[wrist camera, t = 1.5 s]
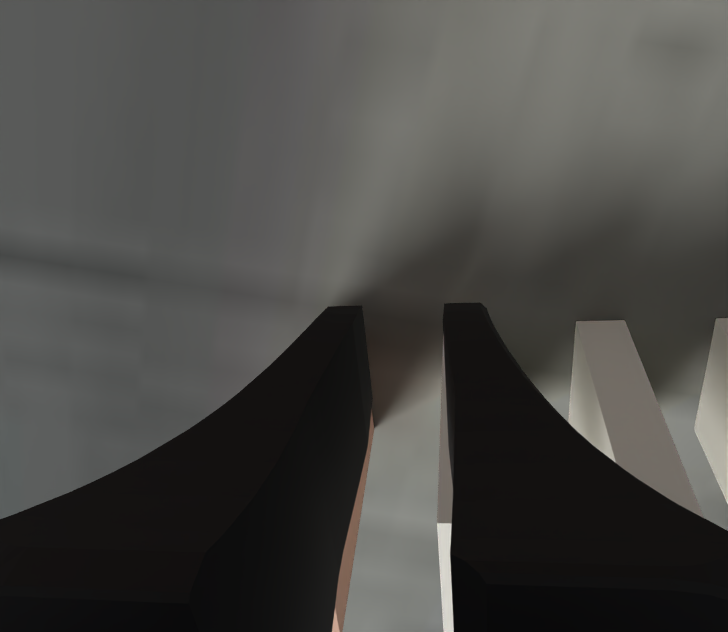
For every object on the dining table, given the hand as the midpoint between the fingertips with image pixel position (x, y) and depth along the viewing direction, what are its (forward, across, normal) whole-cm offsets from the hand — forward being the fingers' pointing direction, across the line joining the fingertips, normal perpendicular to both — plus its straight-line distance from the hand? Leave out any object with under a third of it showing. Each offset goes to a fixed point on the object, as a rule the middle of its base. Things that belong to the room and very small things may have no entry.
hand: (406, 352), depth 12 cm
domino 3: (+10, -6, +8) cm, 14 cm away
